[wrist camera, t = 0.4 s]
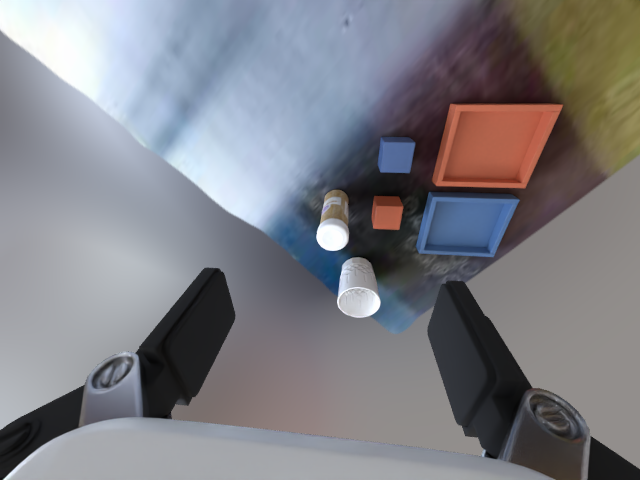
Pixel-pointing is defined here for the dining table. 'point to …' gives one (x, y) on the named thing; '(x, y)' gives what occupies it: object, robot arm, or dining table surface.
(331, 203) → the sprinkles bottle
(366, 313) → the white cup
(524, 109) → the terracotta tray
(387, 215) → the terracotta block
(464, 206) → the slate-blue tray
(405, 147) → the slate-blue block
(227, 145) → the dining table surface
